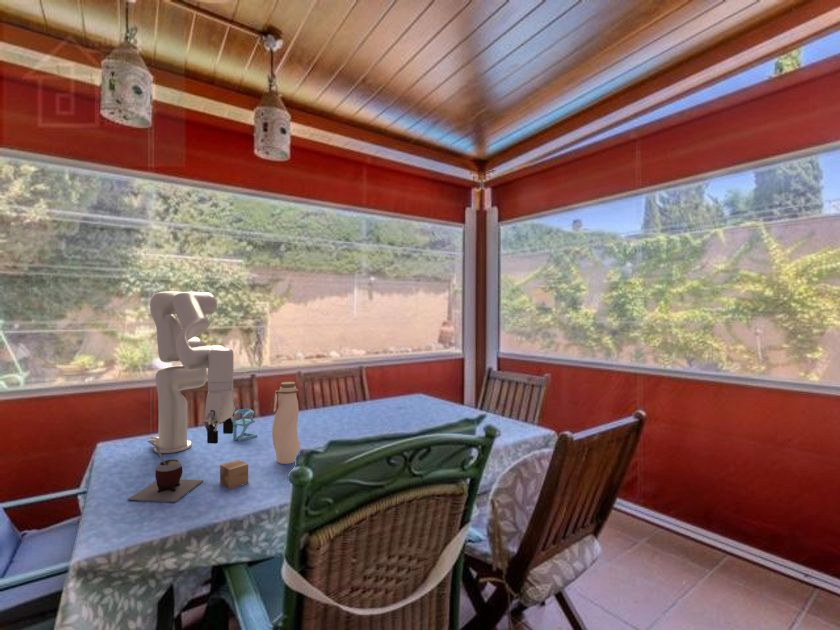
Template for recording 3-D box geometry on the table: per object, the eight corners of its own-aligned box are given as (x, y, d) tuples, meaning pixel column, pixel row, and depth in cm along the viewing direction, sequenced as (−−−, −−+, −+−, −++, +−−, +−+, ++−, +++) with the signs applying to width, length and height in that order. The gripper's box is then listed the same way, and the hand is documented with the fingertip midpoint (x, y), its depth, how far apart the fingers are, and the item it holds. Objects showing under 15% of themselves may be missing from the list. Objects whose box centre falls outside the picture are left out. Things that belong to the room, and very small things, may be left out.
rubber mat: (127, 500, 120) (127, 499, 120) (160, 480, 134) (160, 478, 134) (175, 502, 120) (175, 501, 120) (203, 481, 134) (203, 480, 134)
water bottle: (272, 467, 146) (273, 386, 145) (268, 458, 154) (269, 381, 153) (302, 462, 151) (303, 384, 150) (297, 454, 159) (298, 380, 158)
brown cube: (219, 483, 133) (219, 464, 133) (238, 477, 138) (238, 459, 137) (229, 489, 129) (229, 469, 129) (248, 483, 134) (248, 464, 133)
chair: (228, 440, 173) (228, 411, 173) (242, 434, 181) (242, 406, 181) (243, 442, 171) (243, 413, 170) (257, 436, 179) (257, 408, 178)
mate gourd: (187, 487, 128) (187, 438, 128) (159, 497, 122) (159, 445, 121) (174, 481, 132) (174, 433, 132) (146, 490, 126) (146, 440, 125)
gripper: (223, 380, 147) (222, 429, 147) (194, 391, 129) (194, 446, 130) (244, 381, 146) (244, 430, 147) (218, 392, 129) (217, 447, 130)
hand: (220, 438), depth 138 cm, fingers open, 9 cm apart
